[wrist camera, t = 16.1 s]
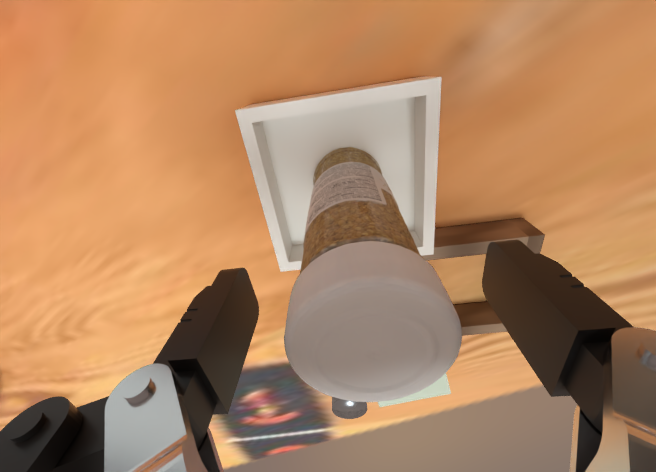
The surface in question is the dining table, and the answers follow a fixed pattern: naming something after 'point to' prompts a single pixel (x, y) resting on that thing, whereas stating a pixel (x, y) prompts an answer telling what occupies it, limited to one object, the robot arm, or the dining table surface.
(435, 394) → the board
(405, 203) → the tray
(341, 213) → the sprinkles bottle
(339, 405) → the cylinder
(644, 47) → the dining table surface
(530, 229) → the socket block
